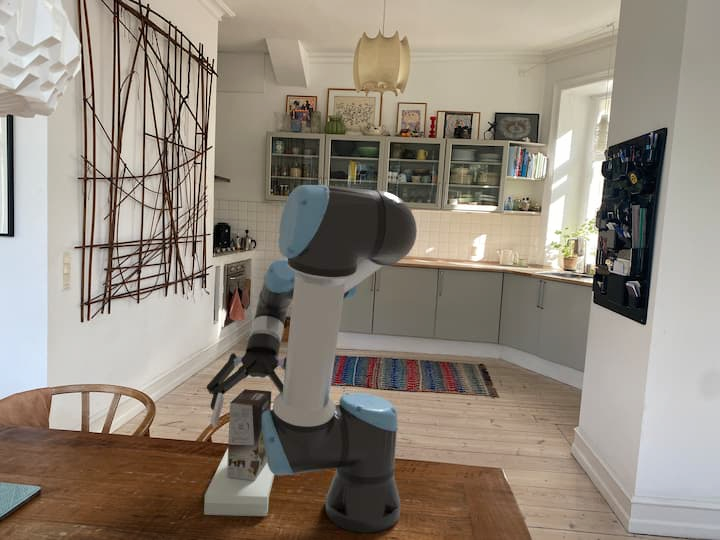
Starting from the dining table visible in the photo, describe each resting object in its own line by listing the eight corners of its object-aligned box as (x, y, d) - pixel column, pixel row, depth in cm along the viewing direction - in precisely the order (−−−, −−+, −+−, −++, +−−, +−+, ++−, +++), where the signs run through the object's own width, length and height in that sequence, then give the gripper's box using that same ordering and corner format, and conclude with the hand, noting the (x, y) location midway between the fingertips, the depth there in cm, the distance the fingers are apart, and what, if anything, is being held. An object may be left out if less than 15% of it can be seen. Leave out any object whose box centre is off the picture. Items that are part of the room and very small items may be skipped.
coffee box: (255, 481, 99) (259, 405, 97) (225, 477, 100) (228, 402, 98) (269, 460, 108) (272, 390, 106) (242, 457, 109) (244, 387, 107)
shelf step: (278, 465, 114) (279, 448, 114) (266, 516, 94) (267, 496, 94) (227, 463, 113) (228, 447, 113) (204, 514, 93) (204, 494, 93)
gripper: (318, 351, 117) (305, 437, 104) (216, 344, 118) (191, 429, 104) (316, 334, 111) (303, 424, 98) (209, 327, 112) (182, 415, 99)
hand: (245, 427), depth 101 cm, fingers open, 13 cm apart
